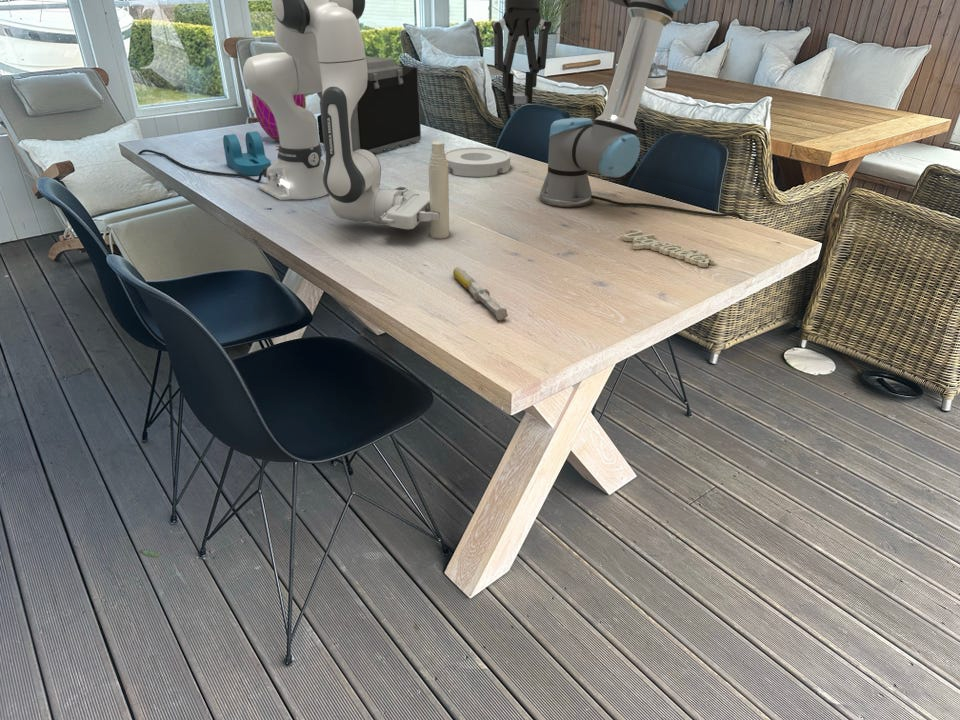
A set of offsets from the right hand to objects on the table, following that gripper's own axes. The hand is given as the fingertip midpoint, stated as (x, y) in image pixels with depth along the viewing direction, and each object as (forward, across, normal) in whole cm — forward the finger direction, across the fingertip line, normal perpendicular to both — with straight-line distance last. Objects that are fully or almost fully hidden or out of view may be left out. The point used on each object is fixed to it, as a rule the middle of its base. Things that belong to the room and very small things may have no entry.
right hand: (518, 102), depth 159 cm
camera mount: (+33, +60, -87) cm, 111 cm away
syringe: (+33, +20, +30) cm, 49 cm away
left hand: (+27, +16, -7) cm, 32 cm away
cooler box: (+33, +16, -107) cm, 113 cm away
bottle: (+33, +17, -8) cm, 38 cm away
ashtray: (+33, -12, -67) cm, 76 cm away
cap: (-2, 0, 0) cm, 2 cm away
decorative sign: (+33, -32, +19) cm, 50 cm away
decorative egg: (+33, +46, -126) cm, 138 cm away
